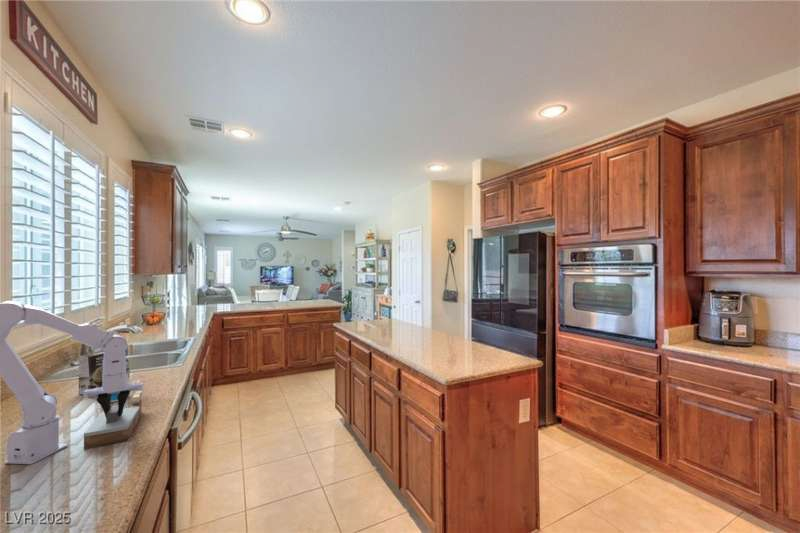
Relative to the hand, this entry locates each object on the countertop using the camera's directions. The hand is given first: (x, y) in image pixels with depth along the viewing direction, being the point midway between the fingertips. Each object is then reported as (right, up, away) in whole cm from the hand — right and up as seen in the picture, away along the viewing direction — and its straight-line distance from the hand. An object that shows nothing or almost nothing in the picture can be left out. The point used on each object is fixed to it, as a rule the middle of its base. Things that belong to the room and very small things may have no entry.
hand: (114, 415), depth 106 cm
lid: (0, -2, 0) cm, 2 cm away
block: (-3, -1, +14) cm, 14 cm away
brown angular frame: (-1, -6, +3) cm, 6 cm away
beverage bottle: (-23, -6, +28) cm, 36 cm away
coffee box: (-38, -6, +36) cm, 53 cm away
